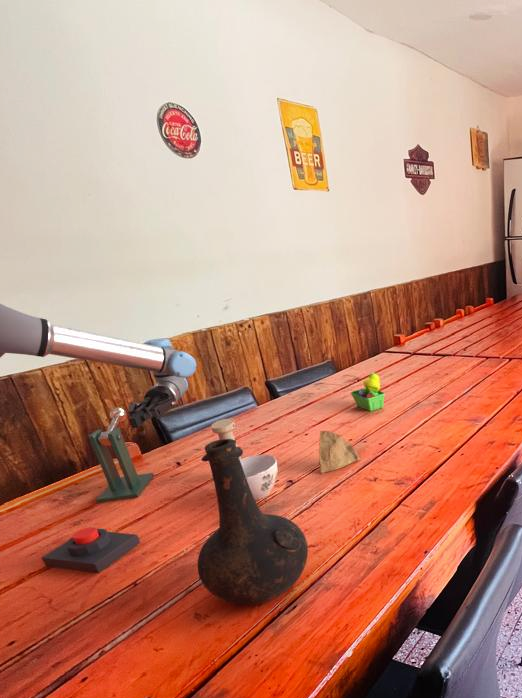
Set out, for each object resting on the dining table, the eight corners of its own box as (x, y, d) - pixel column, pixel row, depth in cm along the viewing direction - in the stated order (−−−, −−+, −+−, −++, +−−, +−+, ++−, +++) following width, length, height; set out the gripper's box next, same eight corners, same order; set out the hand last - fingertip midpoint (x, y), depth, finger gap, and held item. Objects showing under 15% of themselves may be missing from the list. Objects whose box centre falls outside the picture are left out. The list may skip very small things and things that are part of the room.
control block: (45, 566, 100) (36, 549, 99) (90, 537, 109) (83, 522, 107) (98, 573, 98) (90, 556, 96) (140, 543, 106) (134, 527, 105)
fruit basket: (351, 406, 178) (346, 374, 173) (373, 399, 184) (368, 369, 179) (369, 413, 171) (364, 380, 166) (391, 406, 176) (386, 374, 171)
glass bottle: (283, 625, 82) (238, 471, 70) (185, 616, 85) (126, 467, 73) (331, 558, 98) (301, 423, 86) (247, 553, 101) (206, 421, 89)
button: (70, 544, 101) (66, 537, 100) (88, 533, 104) (85, 526, 103) (86, 546, 100) (83, 539, 99) (104, 535, 103) (101, 527, 102)
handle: (224, 483, 129) (207, 429, 122) (233, 472, 135) (217, 419, 128) (243, 482, 129) (228, 427, 123) (251, 470, 135) (236, 418, 128)
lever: (115, 417, 132) (109, 405, 130) (131, 415, 133) (124, 404, 130) (100, 449, 123) (93, 437, 120) (116, 447, 123) (109, 435, 121)
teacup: (244, 482, 129) (235, 454, 125) (292, 482, 128) (285, 453, 125) (212, 514, 116) (202, 483, 112) (265, 513, 115) (257, 482, 111)
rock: (361, 445, 141) (324, 444, 140) (359, 429, 133) (319, 427, 132) (358, 481, 136) (319, 479, 135) (355, 466, 128) (314, 465, 127)
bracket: (117, 481, 133) (94, 425, 126) (154, 476, 135) (133, 420, 128) (97, 504, 123) (70, 444, 116) (138, 498, 124) (114, 438, 118)
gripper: (188, 405, 161) (164, 433, 140) (143, 411, 159) (111, 439, 138) (181, 382, 158) (155, 407, 137) (134, 387, 155) (101, 413, 135)
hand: (133, 423), depth 137 cm, fingers closed
